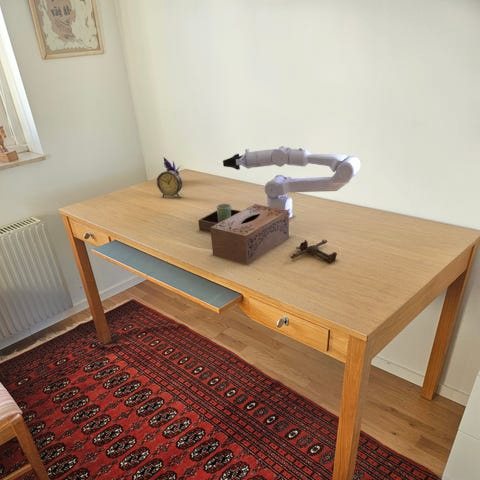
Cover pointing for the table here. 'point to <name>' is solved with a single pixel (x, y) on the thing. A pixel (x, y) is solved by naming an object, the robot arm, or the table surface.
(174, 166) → the creature
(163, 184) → the alarm clock
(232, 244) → the tissue box cover
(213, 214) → the basket
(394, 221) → the table surface
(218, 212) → the pen cup
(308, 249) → the brown figurine
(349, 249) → the table surface
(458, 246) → the table surface
